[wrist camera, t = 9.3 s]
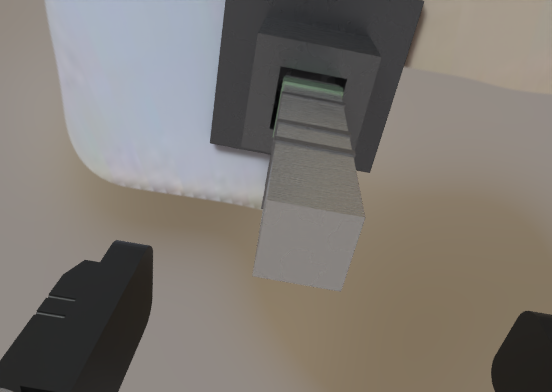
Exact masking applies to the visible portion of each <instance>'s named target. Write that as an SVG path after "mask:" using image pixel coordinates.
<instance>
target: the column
mask: <svg viewBox="0 0 552 392" xmlns="http://www.w3.org/2000/svg"><path fill="white" fill-rule="evenodd" d="M343 93H344V92H343V87H340V86H339V85H337V84H332V83H327V82H321V81H316V80H311V79H306V78H301V77H295V76H290V75H286V76H284V78H283V83H282V88H281V94H280V99H279V105H278V110H277V115H276V121H275V126H274V132H273V142H272V148H271V157H270V162H269V167H268V173H267V178H266V183H265V191H264V196H263V202H262V207H261V209H263V213H262V219H261V225H260V231H259V238H258V244H257V250H256V256H255V263H254V269H253V275H252V276H255V277H261V278H266V279H273V280H278V281H283V282H290V283H295V284H300V285H307V286H312V287H318V288H324V289H329V290H335V291H341V290H342V287H343V284H344V280H345V278H346V275H347V272H348V269H349V265H350V263H351V259H352V257H353V254H354V251H355V248H356V245H357V242H358V238H359V235H360V232H361V229H362V226H363V223H364V220H365V213H364V209H363V203H362V198H361V193H360V188H359V183H358V178H357V173H356V168H355V163H354V159H355V155H356V154H355V151H354V150H352V147H351V142H350V139H351V136H352V135H351V132H348V127H347V122H346V117H345V112H344V109H345V103H343V102H342V97H343Z"/></svg>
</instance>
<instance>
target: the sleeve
mask: <svg viewBox="0 0 552 392" xmlns="http://www.w3.org/2000/svg"><path fill="white" fill-rule="evenodd" d="M423 4H424V1H423V0H226V2H225V11H224V20H223V29H222V38H221V47H220V56H219V65H218V74H217V84H216V93H215V102H214V111H213V120H212V129H211V138H210V143H212V144H217V145H223V146H228V147H233V148H239V149H244V150H249V151H255V152H260V153H266V154H271V148H272V142H273V132H274V126H275V121H276V115H277V110H278V105H279V99H280V94H281V88H282V83H283V78H284V76H286V75H290V76H295V77H301V78H306V79H311V80H316V81H321V82H327V83H332V84H337V85H339V86H340V87H343V92H344V93H343V97H342V102H343V103H345V109H344V112H345V117H346V122H347V127H348V132H351V135H352V136H351V139H350V142H351V147H352V150H354V151H355V154H356V155H355V159H354V163H355V168H356V170H357V171H363V172H368V173H370V170H371V168H372V164H373V161H374V158H375V155H376V152H377V149H378V146H379V142H380V139H381V136H382V133H383V130H384V127H385V124H386V120H387V117H388V114H389V111H390V108H391V105H392V102H393V98H394V95H395V92H396V89H397V86H398V83H399V79H400V76H401V73H402V70H403V67H404V64H405V61H406V57H407V54H408V51H409V48H410V45H411V42H412V39H413V35H414V32H415V29H416V26H417V23H418V20H419V16H420V13H421V10H422V7H423Z"/></svg>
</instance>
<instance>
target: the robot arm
mask: <svg viewBox="0 0 552 392" xmlns="http://www.w3.org/2000/svg"><path fill="white" fill-rule="evenodd" d="M152 285H153V249H152V247H151V246H149V245H142V244H137V243H131V242H125V241H119V240H116V241H114V242H113V243H112V245H111V246H110V248H109V249H108V251H107V252H106V254H105V255H104V257H103V258H102V260H101V262H95V261H88V260H84V261H83V262H81V263H80V264H78V265H77V266H75V267H74V268H72V269H71V270H69V271H68V272H66V273H65V274H63V276H62V277H61V278H60V280H59V281H58V282H57V284H56V285H55V286H54V288H53V289H52V290H51V292H50V293H49V297H48V298H46V299H45V300H44V302H43V303H42V304H41V306H40V307H39V308H38V310H37V313H36V315H33V317H32V318H31V319H30V321H29V322H28V323H27V325H26V326H25V327H24V329H23V330H22V332H21V333H20V334H19V336H18V337H17V339H16V340H15V341H14V342H13V344H12V345H11V347H10V348H9V349H8V351H7V352H6V354H5V355H4V356H3V358H2V359H1V360H0V392H118V391H119V388H120V386H121V384H122V382H123V379H124V377H125V375H126V372H127V370H128V368H129V365H130V363H131V361H132V358H133V356H134V354H135V351H136V349H137V347H138V344H139V342H140V340H141V337H142V335H143V333H144V330H145V328H146V325H147V322H148V319H149V315H150V311H151V305H152ZM491 376H492V384H493V387H494V390H495V392H552V315H550V314H544V313H538V312H532V311H525V312H523V313H521V314H520V316H519V317H518V318H517V320H516V322H515V323H514V325H513V327H512V328H511V330H510V332H509V333H508V335H507V337H506V338H505V340H504V342H503V343H502V345H501V347H500V349H499V350H498V352H497V354H496V355H495V357H494V360H493V363H492V369H491Z"/></svg>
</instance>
